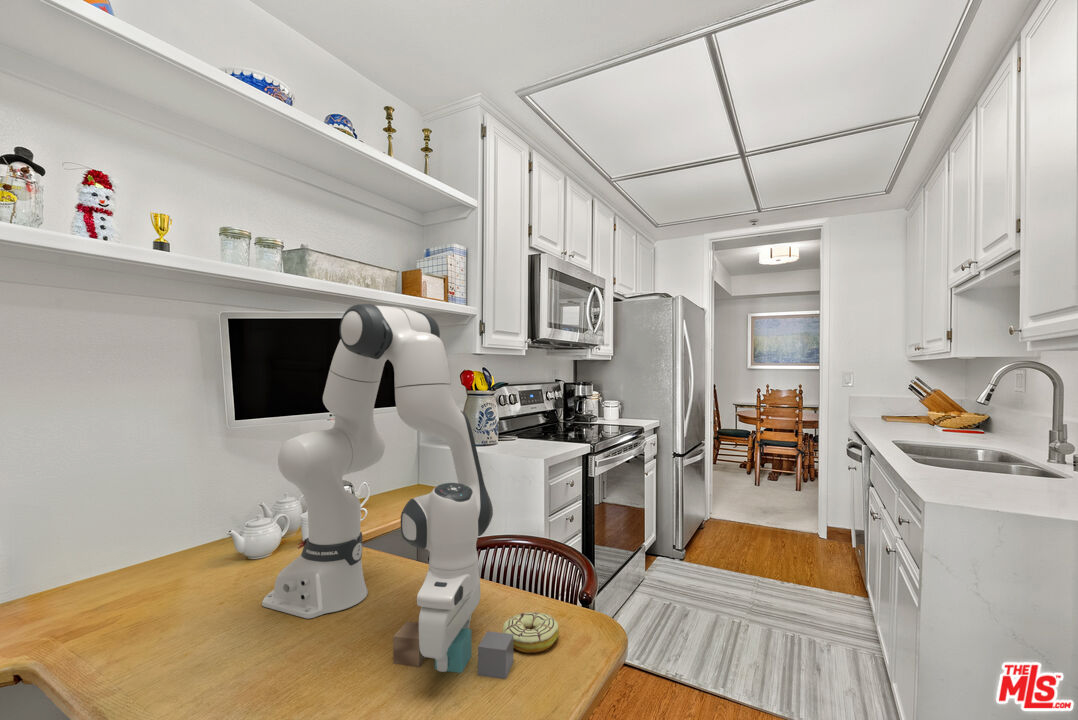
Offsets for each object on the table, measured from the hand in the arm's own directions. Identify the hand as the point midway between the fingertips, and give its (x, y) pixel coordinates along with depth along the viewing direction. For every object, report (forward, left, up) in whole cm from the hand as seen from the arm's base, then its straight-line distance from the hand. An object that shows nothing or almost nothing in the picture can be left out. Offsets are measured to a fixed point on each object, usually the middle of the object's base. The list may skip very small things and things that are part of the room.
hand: (453, 653), depth 87 cm
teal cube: (0, 0, -2) cm, 2 cm away
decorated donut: (+12, +10, -2) cm, 16 cm away
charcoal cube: (+8, 0, -2) cm, 8 cm away
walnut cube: (-8, 0, -2) cm, 8 cm away
